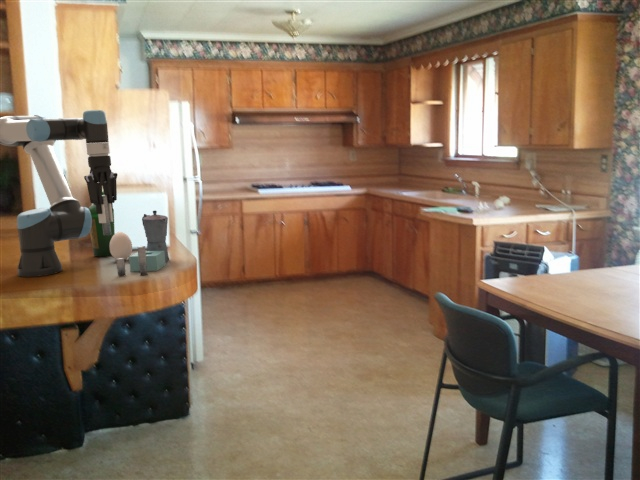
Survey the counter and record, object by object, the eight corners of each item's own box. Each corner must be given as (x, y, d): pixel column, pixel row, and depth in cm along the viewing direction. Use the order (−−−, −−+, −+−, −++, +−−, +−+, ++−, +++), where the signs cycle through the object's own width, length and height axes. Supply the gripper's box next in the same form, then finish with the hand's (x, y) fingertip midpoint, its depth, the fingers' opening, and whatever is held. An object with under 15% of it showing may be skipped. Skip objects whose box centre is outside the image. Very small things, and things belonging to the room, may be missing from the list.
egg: (106, 261, 256) (103, 232, 254) (124, 257, 263) (122, 229, 261) (119, 263, 251) (116, 234, 249) (138, 259, 257) (135, 231, 255)
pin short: (116, 276, 228) (115, 259, 227) (119, 274, 231) (118, 258, 230) (124, 276, 228) (122, 259, 227) (126, 274, 231) (125, 257, 230)
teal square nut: (130, 271, 235) (129, 256, 234) (139, 265, 245) (138, 251, 244) (157, 270, 235) (156, 255, 234) (165, 264, 244) (164, 250, 243)
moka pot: (159, 265, 244) (155, 212, 241) (134, 261, 254) (129, 210, 250) (179, 260, 252) (175, 209, 248) (153, 257, 261) (149, 207, 258)
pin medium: (138, 275, 228) (136, 247, 226) (141, 273, 230) (139, 246, 229) (146, 275, 227) (143, 247, 226) (148, 273, 230) (146, 246, 228)
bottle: (98, 252, 275) (92, 187, 270) (122, 252, 274) (116, 186, 269) (86, 257, 265) (79, 189, 260) (110, 257, 263) (104, 189, 259)
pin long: (102, 235, 228) (97, 195, 226) (107, 234, 231) (103, 195, 228) (107, 235, 227) (103, 195, 225) (112, 234, 229) (108, 195, 227)
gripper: (88, 156, 216) (96, 225, 220) (123, 153, 230) (130, 219, 233) (73, 157, 220) (81, 225, 223) (108, 154, 233) (115, 219, 237)
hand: (106, 222), depth 228 cm, fingers closed on pin long, 2 cm apart
